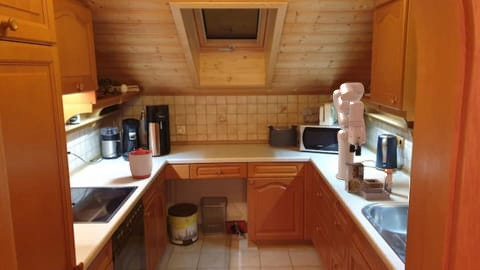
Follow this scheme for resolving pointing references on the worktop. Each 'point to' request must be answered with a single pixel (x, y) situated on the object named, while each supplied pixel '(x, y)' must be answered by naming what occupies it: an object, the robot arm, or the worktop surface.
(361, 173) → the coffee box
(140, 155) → the citrus juicer
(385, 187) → the lock pin
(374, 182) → the mount block
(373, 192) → the dock cradle
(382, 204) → the worktop surface
